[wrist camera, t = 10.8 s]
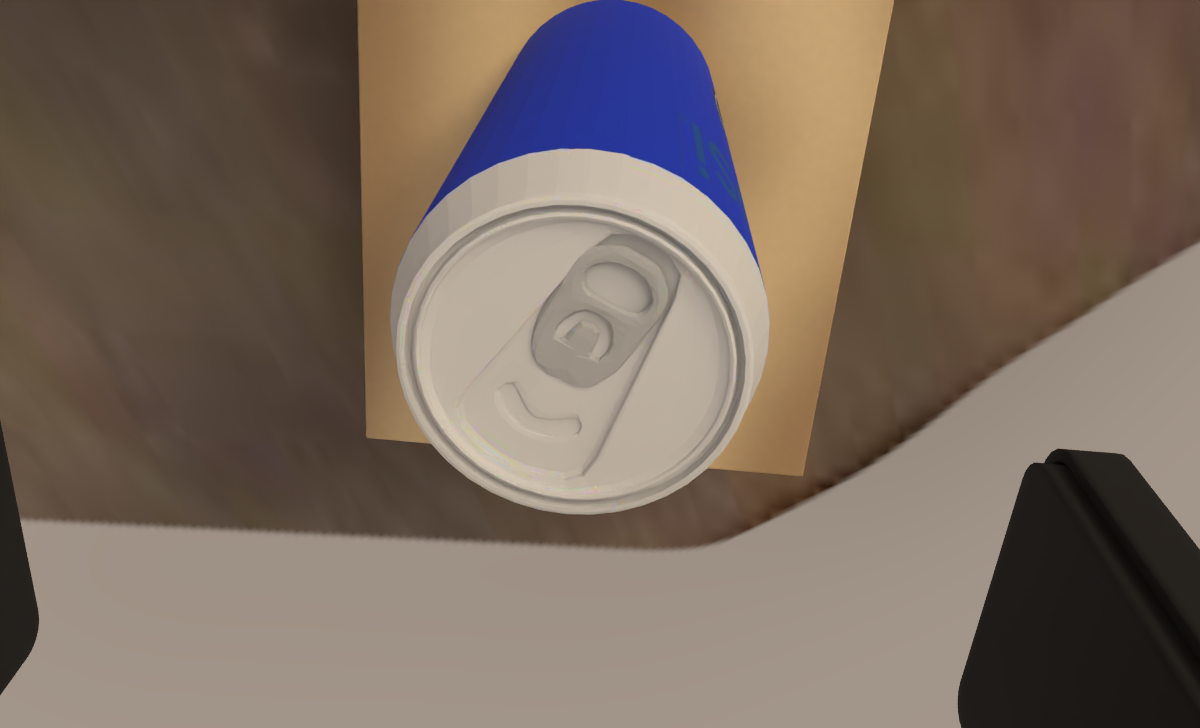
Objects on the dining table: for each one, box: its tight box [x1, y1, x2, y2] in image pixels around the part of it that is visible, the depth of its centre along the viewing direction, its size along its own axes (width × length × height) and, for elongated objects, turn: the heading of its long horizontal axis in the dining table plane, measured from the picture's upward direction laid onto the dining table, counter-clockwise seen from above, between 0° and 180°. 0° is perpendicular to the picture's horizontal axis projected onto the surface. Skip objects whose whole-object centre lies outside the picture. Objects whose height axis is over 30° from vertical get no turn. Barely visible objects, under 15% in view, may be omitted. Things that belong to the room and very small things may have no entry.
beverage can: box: [390, 0, 770, 515], centre depth 20 cm, size 5×5×15 cm
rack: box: [357, 0, 894, 476], centre depth 32 cm, size 13×15×7 cm
